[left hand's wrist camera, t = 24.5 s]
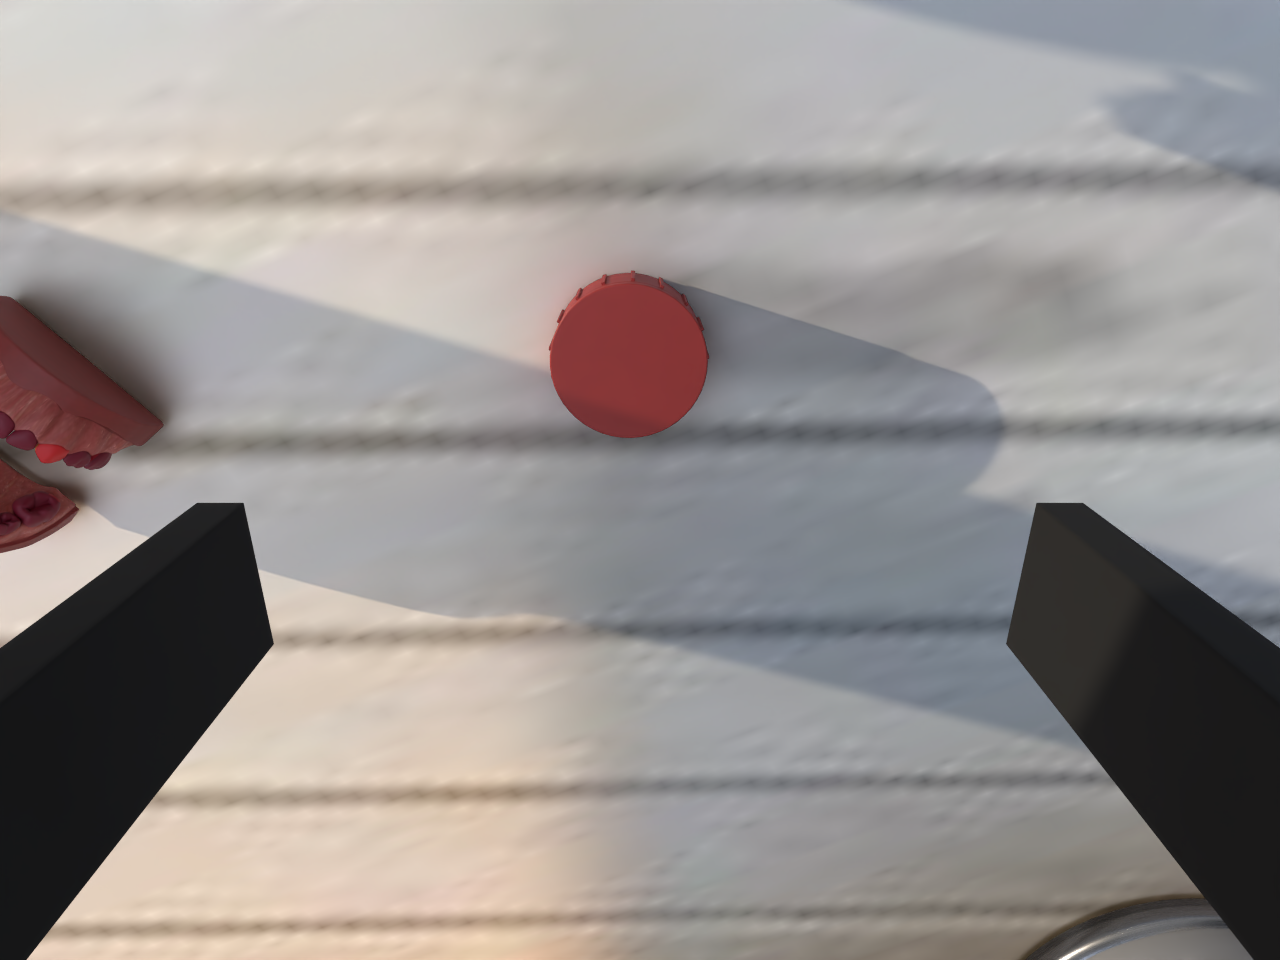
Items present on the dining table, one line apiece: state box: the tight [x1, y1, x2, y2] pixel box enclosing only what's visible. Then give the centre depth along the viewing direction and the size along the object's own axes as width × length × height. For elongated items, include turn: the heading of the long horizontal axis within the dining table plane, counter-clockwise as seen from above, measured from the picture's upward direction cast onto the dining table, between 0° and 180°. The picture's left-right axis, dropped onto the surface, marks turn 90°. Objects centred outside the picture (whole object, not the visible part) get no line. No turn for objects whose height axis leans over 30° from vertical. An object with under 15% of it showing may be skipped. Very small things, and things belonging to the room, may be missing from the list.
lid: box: [549, 271, 709, 438], centre depth 23 cm, size 5×5×2 cm
